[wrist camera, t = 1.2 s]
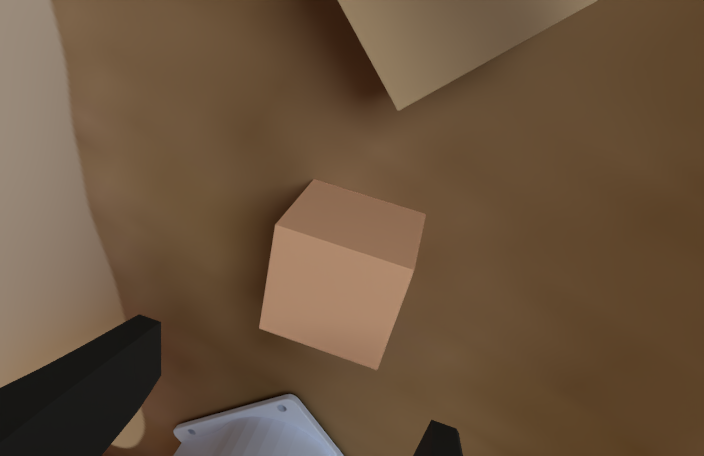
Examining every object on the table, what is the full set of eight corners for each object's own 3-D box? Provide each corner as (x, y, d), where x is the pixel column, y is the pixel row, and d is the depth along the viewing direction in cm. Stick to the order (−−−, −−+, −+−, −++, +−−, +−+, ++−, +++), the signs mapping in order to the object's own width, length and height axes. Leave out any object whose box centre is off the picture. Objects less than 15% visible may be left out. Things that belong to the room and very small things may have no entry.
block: (394, 301, 19) (377, 370, 16) (296, 269, 19) (259, 328, 16) (426, 212, 17) (414, 270, 13) (314, 177, 17) (275, 224, 14)
